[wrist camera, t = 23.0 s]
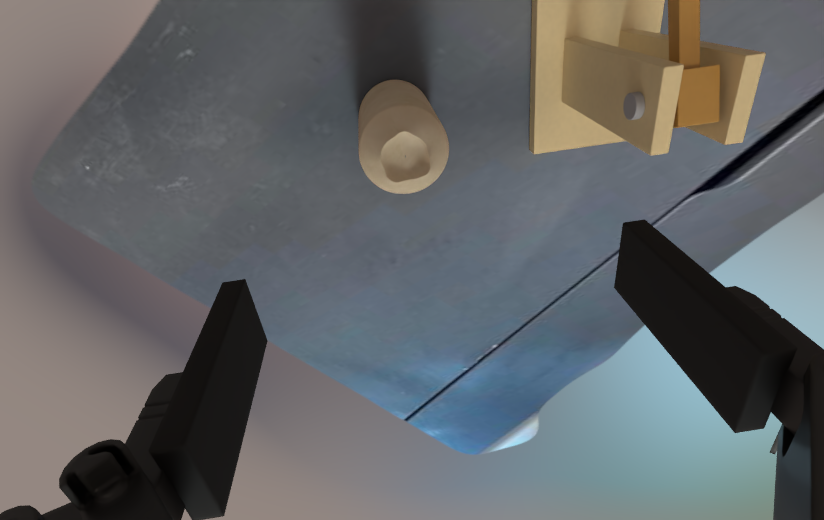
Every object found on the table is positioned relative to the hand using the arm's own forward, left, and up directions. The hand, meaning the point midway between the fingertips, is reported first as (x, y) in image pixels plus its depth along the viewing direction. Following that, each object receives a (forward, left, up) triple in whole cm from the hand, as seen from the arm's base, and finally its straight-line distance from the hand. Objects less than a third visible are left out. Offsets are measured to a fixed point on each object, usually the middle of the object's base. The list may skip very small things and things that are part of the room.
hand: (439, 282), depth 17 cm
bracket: (-2, +15, -23) cm, 27 cm away
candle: (0, 0, -23) cm, 23 cm away
